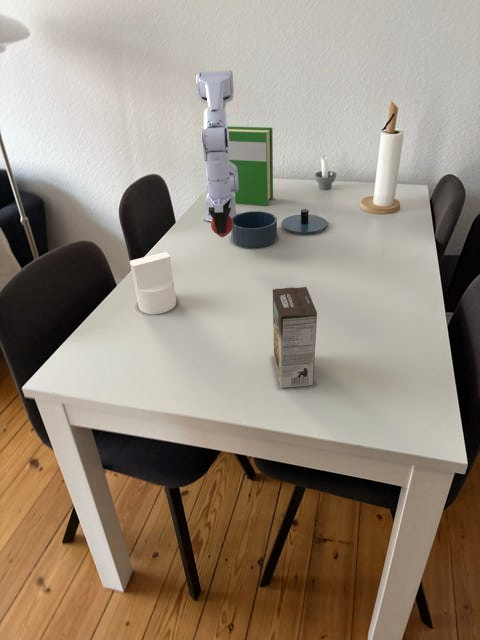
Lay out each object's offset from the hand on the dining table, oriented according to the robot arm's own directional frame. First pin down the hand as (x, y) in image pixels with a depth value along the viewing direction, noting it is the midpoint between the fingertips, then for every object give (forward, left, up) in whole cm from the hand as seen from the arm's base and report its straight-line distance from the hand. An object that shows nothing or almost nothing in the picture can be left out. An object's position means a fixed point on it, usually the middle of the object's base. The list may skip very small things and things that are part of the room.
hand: (222, 228), depth 127 cm
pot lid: (+6, +31, -8) cm, 32 cm away
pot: (-1, +14, -9) cm, 17 cm away
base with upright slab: (+3, -28, -9) cm, 29 cm away
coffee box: (+43, -29, -9) cm, 52 cm away
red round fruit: (0, 0, -3) cm, 3 cm away
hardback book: (-24, +38, -9) cm, 46 cm away
